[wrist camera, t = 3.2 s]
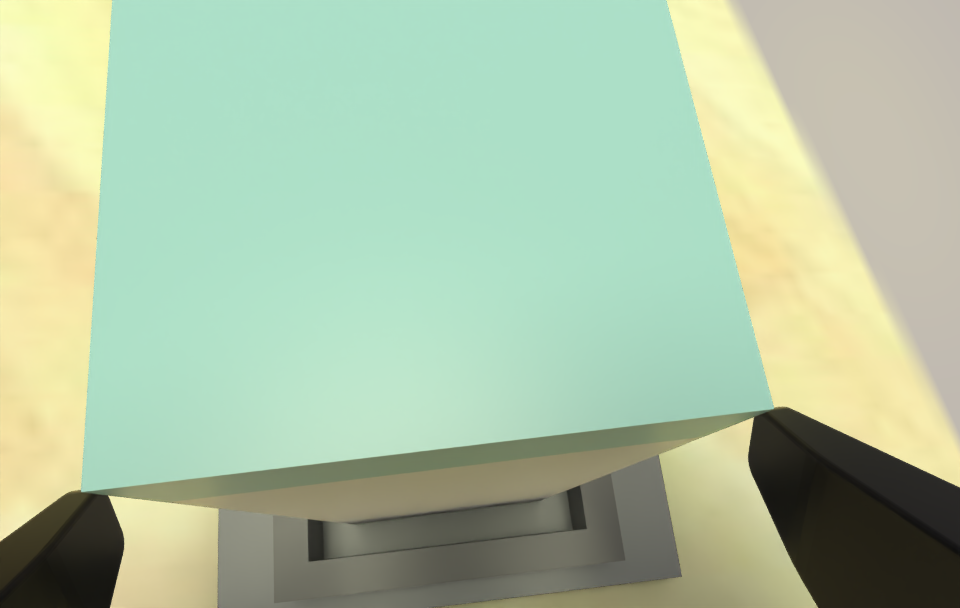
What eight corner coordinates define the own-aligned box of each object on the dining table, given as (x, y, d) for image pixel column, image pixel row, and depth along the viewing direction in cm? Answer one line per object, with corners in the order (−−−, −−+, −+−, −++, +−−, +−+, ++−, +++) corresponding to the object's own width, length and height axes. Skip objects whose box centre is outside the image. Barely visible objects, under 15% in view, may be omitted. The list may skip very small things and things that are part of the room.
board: (670, 574, 19) (709, 581, 16) (229, 629, 18) (187, 647, 15) (562, 0, 25) (576, -68, 22) (233, 19, 24) (205, -49, 21)
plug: (540, 501, 18) (774, 408, 5) (354, 524, 18) (79, 492, 5) (514, 325, 20) (641, -93, 7) (343, 343, 19) (116, -63, 6)
